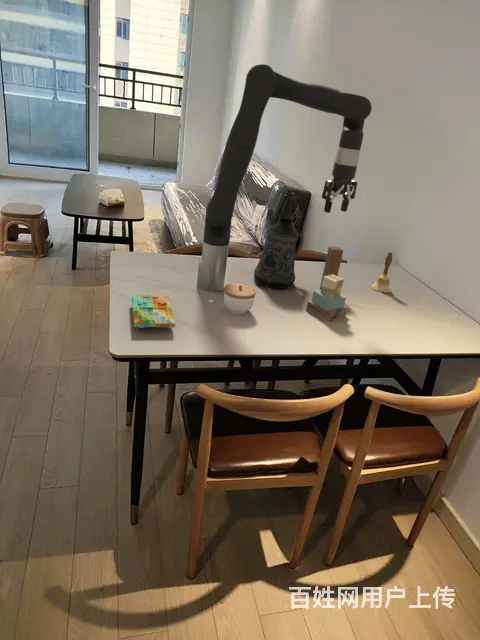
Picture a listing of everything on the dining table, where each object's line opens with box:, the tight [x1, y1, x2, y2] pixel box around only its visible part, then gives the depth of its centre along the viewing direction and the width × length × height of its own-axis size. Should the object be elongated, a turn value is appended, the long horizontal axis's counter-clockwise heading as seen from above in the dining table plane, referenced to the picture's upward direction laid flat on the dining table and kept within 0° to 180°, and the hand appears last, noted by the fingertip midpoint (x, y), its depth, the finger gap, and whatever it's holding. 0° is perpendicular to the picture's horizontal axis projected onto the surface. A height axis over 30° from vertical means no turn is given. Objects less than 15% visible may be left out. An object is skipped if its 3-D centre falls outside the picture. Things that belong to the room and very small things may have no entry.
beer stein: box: [253, 218, 304, 291], centre depth 185 cm, size 16×19×25 cm
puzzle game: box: [131, 294, 176, 328], centre depth 146 cm, size 12×5×20 cm
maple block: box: [320, 274, 345, 298], centre depth 163 cm, size 5×5×6 cm
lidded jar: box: [223, 282, 257, 315], centre depth 159 cm, size 11×11×9 cm
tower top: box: [311, 289, 347, 310], centre depth 166 cm, size 8×8×4 cm
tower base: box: [305, 299, 348, 323], centre depth 168 cm, size 10×10×4 cm
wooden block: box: [319, 245, 344, 290], centre depth 181 cm, size 9×4×18 cm, turn 9°
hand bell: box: [370, 251, 393, 294], centre depth 194 cm, size 8×8×16 cm
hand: (335, 211), depth 163 cm, fingers open, 8 cm apart
